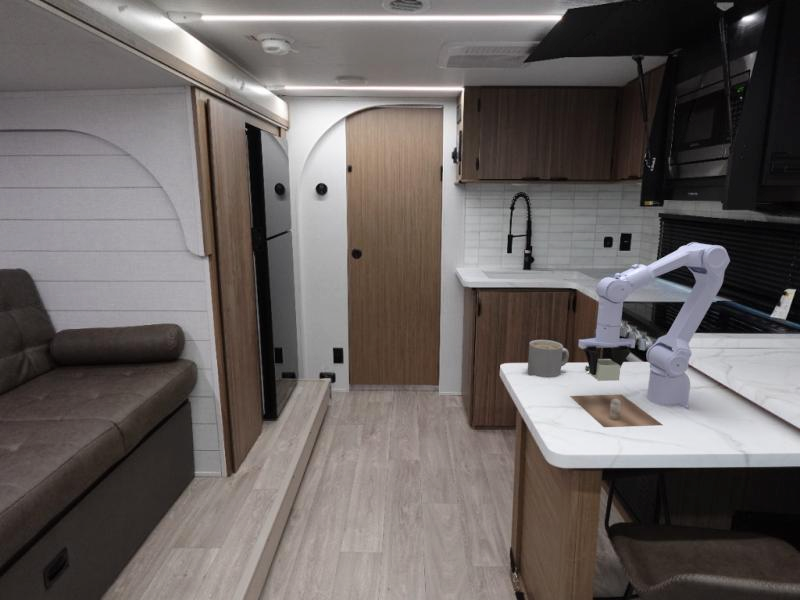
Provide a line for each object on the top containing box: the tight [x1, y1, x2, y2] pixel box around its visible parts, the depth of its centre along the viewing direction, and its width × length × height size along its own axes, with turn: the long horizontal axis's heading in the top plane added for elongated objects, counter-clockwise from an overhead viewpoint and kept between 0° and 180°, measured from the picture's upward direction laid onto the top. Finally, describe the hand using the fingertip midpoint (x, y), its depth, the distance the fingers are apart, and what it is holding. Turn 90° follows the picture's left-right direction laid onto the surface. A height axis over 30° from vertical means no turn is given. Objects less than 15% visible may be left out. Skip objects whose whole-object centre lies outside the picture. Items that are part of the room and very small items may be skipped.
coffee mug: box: [526, 339, 570, 379], centre depth 156 cm, size 13×10×10 cm
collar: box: [588, 358, 621, 382], centre depth 132 cm, size 6×6×4 cm
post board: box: [569, 394, 663, 428], centre depth 129 cm, size 15×19×6 cm
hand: (603, 373), depth 132 cm, fingers closed on collar, 6 cm apart
